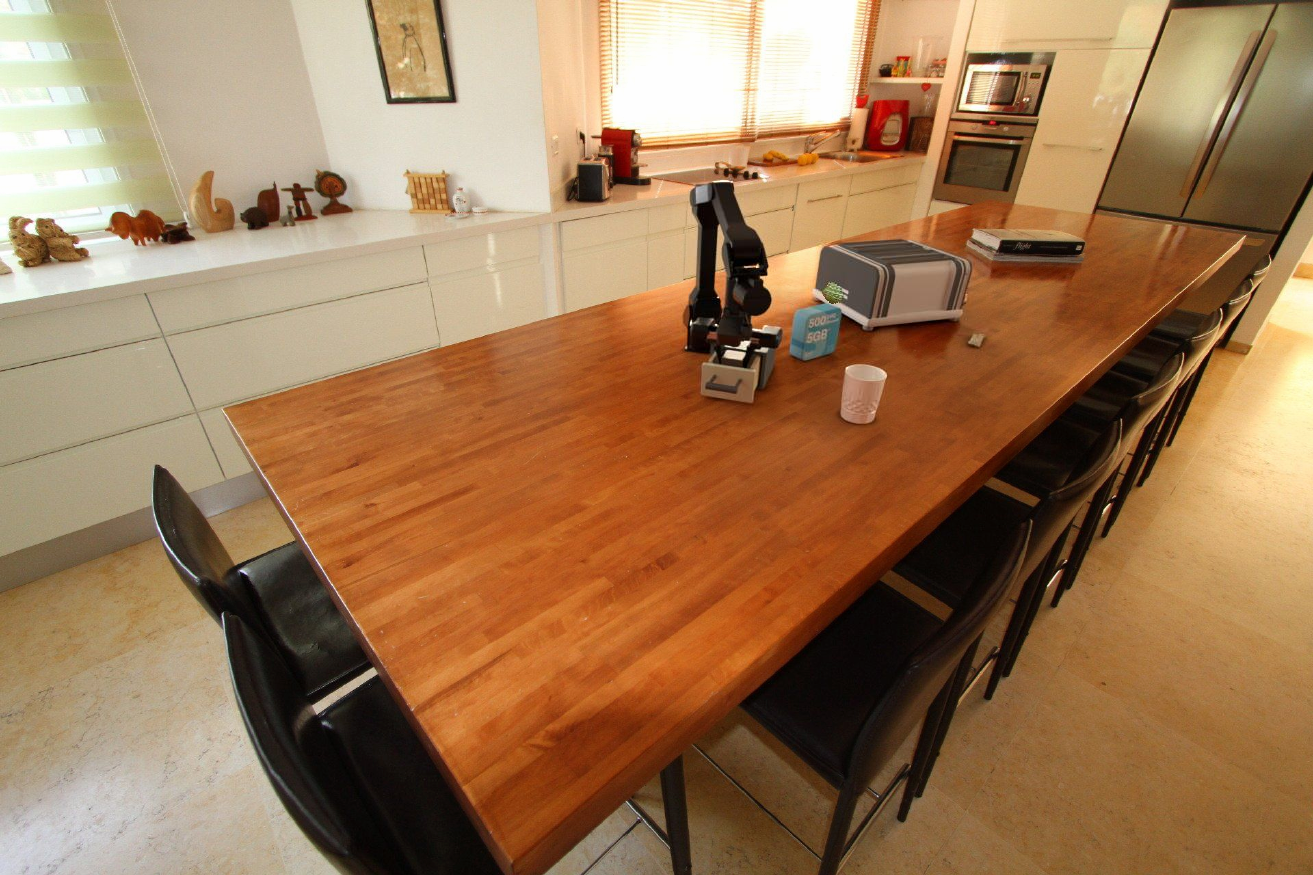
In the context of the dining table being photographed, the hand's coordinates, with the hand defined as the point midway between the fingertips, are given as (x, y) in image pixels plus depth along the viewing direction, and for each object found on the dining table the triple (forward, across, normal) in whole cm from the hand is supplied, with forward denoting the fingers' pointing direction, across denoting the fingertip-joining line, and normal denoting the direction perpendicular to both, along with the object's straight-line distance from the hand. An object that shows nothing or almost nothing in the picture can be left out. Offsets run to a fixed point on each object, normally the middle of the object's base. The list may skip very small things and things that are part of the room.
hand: (733, 369), depth 128 cm
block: (+1, 0, 0) cm, 1 cm away
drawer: (+5, 0, -2) cm, 5 cm away
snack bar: (+6, +54, +52) cm, 76 cm away
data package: (+6, +14, +28) cm, 32 cm away
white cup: (+6, +27, -2) cm, 28 cm away
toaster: (+6, +31, +72) cm, 79 cm away
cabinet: (+6, 0, +10) cm, 12 cm away
